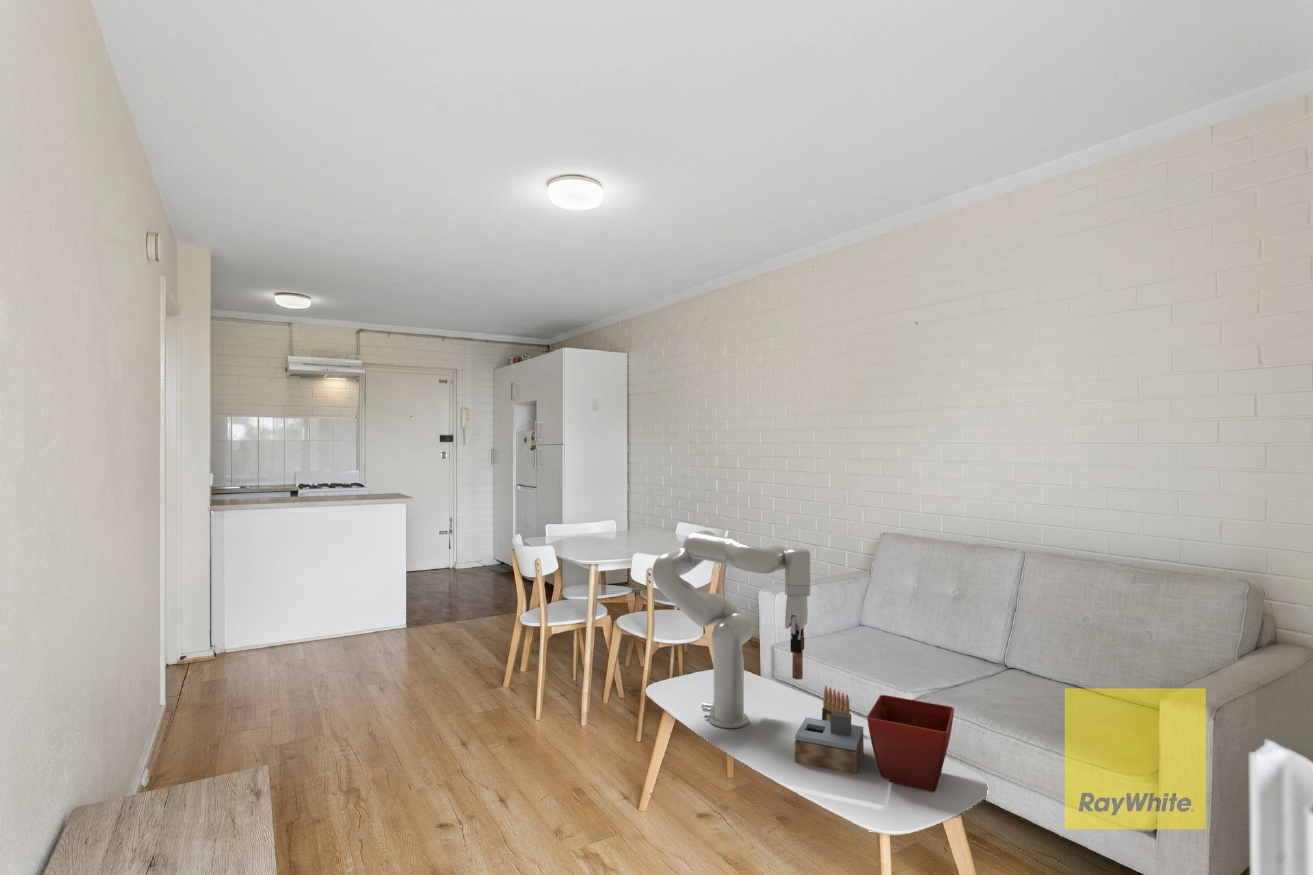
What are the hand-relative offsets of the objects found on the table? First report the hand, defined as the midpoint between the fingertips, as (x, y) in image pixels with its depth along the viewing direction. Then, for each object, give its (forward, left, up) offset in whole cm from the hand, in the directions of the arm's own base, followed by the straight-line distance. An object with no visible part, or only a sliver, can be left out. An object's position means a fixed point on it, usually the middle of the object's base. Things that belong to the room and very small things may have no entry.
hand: (797, 650), depth 200 cm
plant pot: (+33, -14, -25) cm, 44 cm away
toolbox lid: (+12, -14, -18) cm, 26 cm away
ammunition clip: (+10, +9, -25) cm, 29 cm away
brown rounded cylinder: (0, 0, -8) cm, 8 cm away
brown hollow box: (+12, -14, -25) cm, 31 cm away
